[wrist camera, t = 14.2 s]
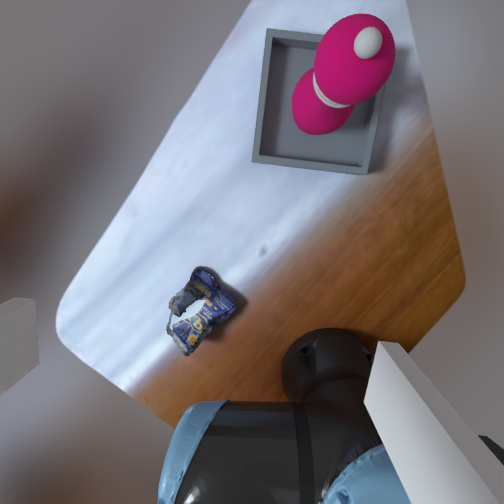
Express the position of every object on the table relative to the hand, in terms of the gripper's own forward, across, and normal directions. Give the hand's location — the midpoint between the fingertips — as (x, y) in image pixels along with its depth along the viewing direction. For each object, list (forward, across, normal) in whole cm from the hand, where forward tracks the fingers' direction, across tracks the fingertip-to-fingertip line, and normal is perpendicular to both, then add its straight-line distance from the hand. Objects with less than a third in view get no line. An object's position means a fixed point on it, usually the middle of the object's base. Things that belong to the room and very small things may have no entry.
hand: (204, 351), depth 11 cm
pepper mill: (+32, -8, -16) cm, 37 cm away
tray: (+33, -8, -16) cm, 37 cm away
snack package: (+33, +6, +13) cm, 36 cm away
